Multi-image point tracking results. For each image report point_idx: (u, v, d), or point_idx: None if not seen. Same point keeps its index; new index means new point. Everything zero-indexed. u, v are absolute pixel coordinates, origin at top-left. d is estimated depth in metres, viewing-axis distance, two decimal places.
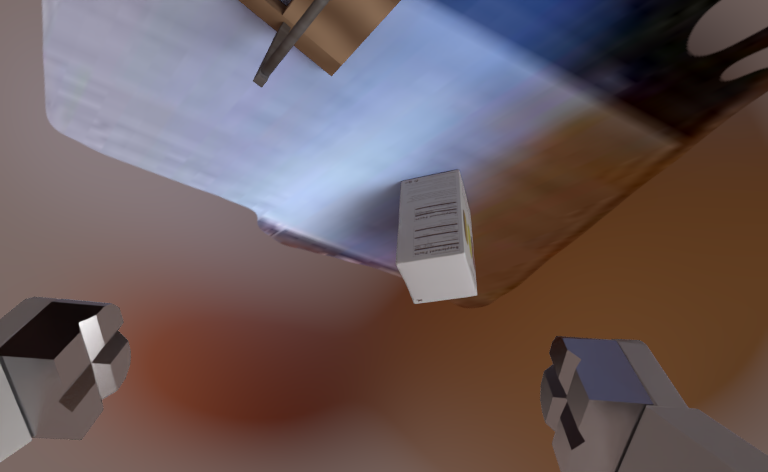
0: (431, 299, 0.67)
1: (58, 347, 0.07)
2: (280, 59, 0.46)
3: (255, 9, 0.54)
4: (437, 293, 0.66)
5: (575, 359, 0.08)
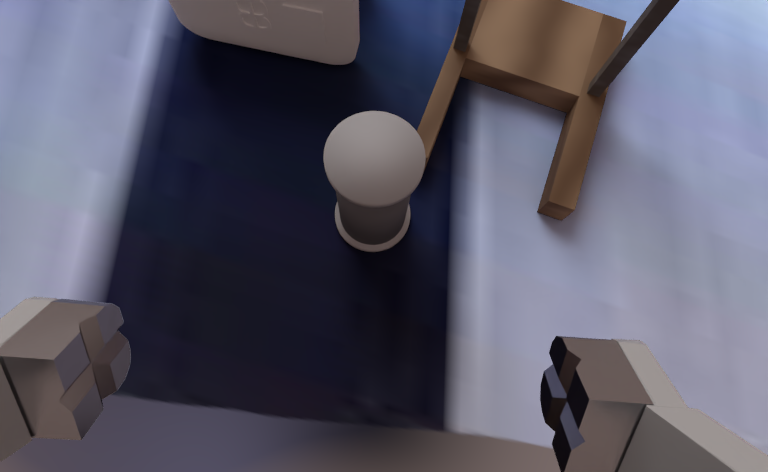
0: None
1: (58, 347, 0.07)
2: None
3: (590, 129, 0.37)
4: None
5: (575, 359, 0.08)
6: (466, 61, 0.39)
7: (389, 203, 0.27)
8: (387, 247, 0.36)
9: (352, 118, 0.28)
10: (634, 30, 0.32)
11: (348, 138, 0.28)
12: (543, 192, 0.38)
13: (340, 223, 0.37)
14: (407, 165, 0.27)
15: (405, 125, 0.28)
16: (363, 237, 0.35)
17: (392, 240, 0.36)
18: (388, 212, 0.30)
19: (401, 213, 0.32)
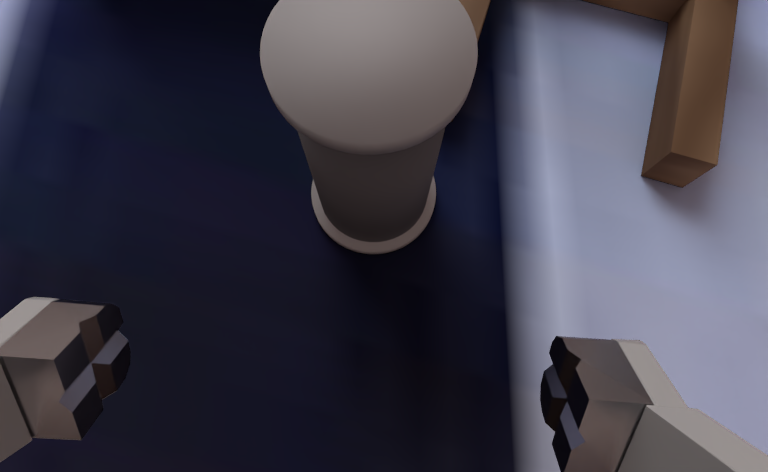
0: None
1: (58, 347, 0.07)
2: None
3: (724, 35, 0.23)
4: None
5: (575, 359, 0.08)
6: None
7: (406, 141, 0.12)
8: (401, 245, 0.22)
9: None
10: None
11: (311, 14, 0.13)
12: (648, 144, 0.24)
13: (321, 209, 0.22)
14: (440, 61, 0.13)
15: None
16: (359, 230, 0.20)
17: (408, 233, 0.22)
18: (402, 171, 0.15)
19: (425, 178, 0.17)
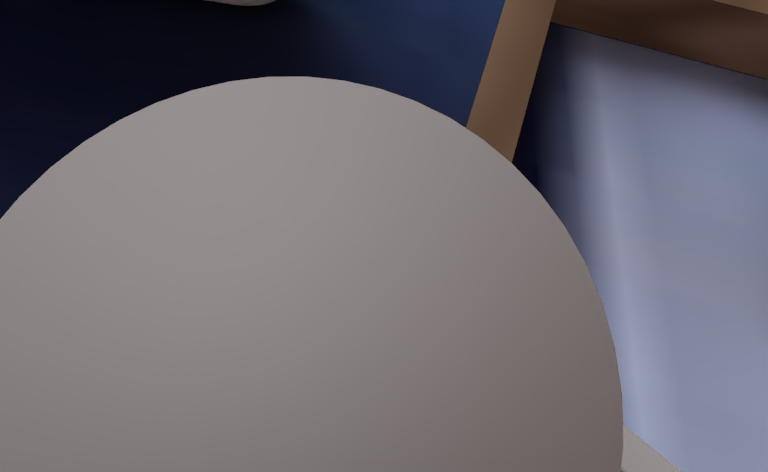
0: None
1: None
2: None
3: None
4: None
5: None
6: None
7: None
8: None
9: (142, 127, 0.05)
10: None
11: (100, 255, 0.04)
12: None
13: None
14: (500, 436, 0.04)
15: (461, 152, 0.05)
16: None
17: None
18: None
19: None
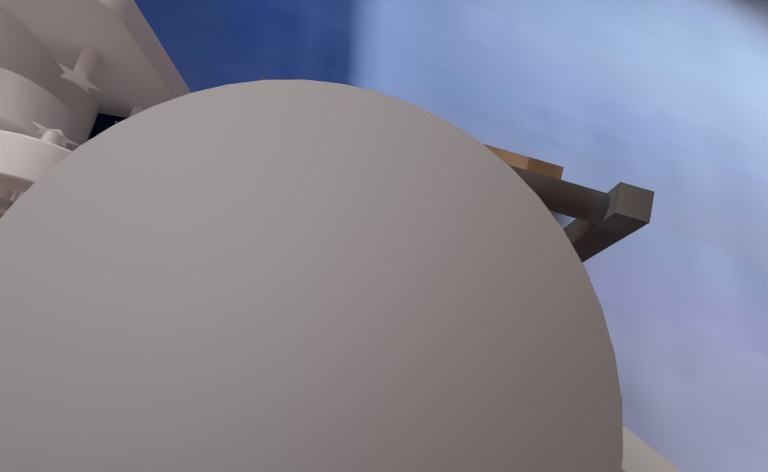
0: None
1: None
2: (533, 173, 0.15)
3: None
4: None
5: None
6: None
7: None
8: None
9: (139, 130, 0.05)
10: None
11: (96, 259, 0.04)
12: None
13: None
14: (499, 443, 0.04)
15: (460, 155, 0.05)
16: None
17: None
18: None
19: None
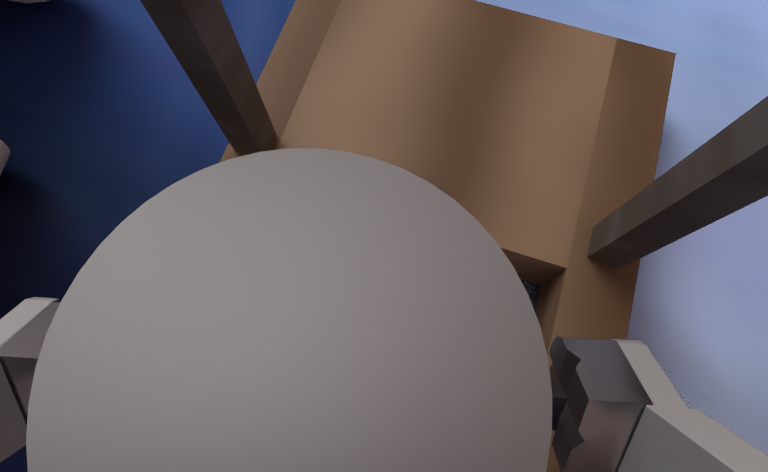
0: None
1: None
2: None
3: None
4: None
5: (574, 359, 0.08)
6: None
7: None
8: None
9: (190, 189, 0.06)
10: None
11: (163, 290, 0.06)
12: None
13: None
14: (462, 426, 0.05)
15: (436, 208, 0.06)
16: None
17: None
18: None
19: None
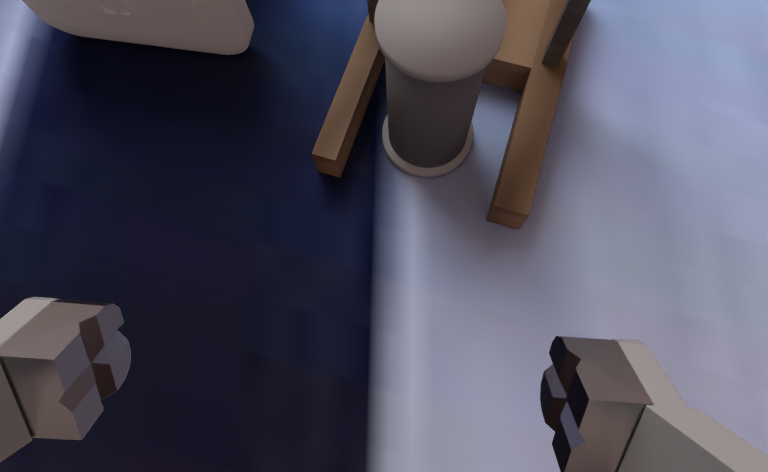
0: None
1: (58, 347, 0.07)
2: None
3: (547, 109, 0.29)
4: None
5: (575, 359, 0.08)
6: None
7: (464, 73, 0.21)
8: (448, 169, 0.30)
9: None
10: None
11: None
12: (493, 194, 0.30)
13: (390, 145, 0.31)
14: (483, 25, 0.21)
15: None
16: (420, 155, 0.29)
17: (454, 161, 0.30)
18: (457, 100, 0.23)
19: (469, 111, 0.26)
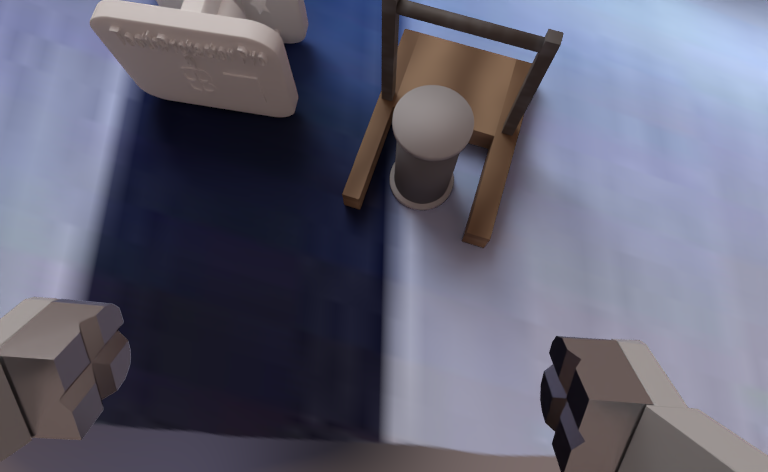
0: None
1: (58, 347, 0.07)
2: (510, 28, 0.33)
3: (504, 165, 0.42)
4: None
5: (575, 359, 0.08)
6: None
7: (448, 156, 0.34)
8: (436, 205, 0.43)
9: (412, 91, 0.35)
10: (524, 84, 0.36)
11: (410, 107, 0.34)
12: (467, 223, 0.43)
13: (395, 187, 0.43)
14: (460, 126, 0.34)
15: (455, 95, 0.35)
16: (417, 196, 0.41)
17: (440, 199, 0.43)
18: (443, 167, 0.36)
19: (451, 171, 0.39)
